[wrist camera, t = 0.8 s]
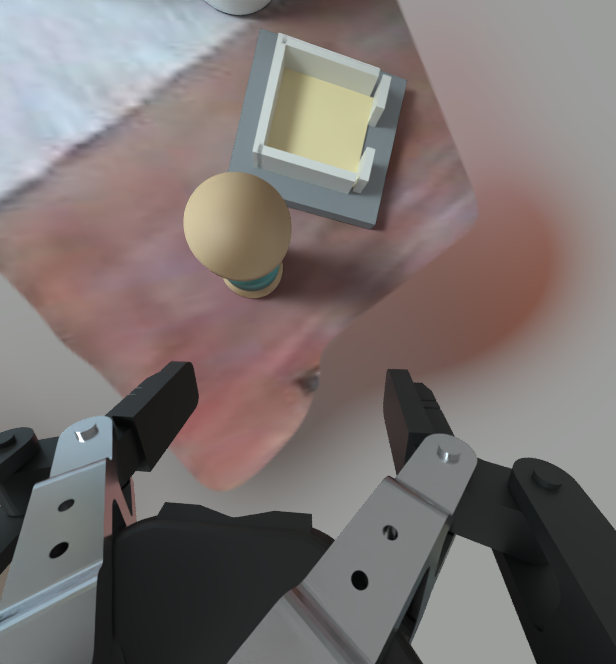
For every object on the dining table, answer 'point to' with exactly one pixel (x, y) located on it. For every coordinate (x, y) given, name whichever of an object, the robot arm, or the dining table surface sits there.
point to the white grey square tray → (318, 128)
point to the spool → (239, 231)
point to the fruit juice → (238, 6)
